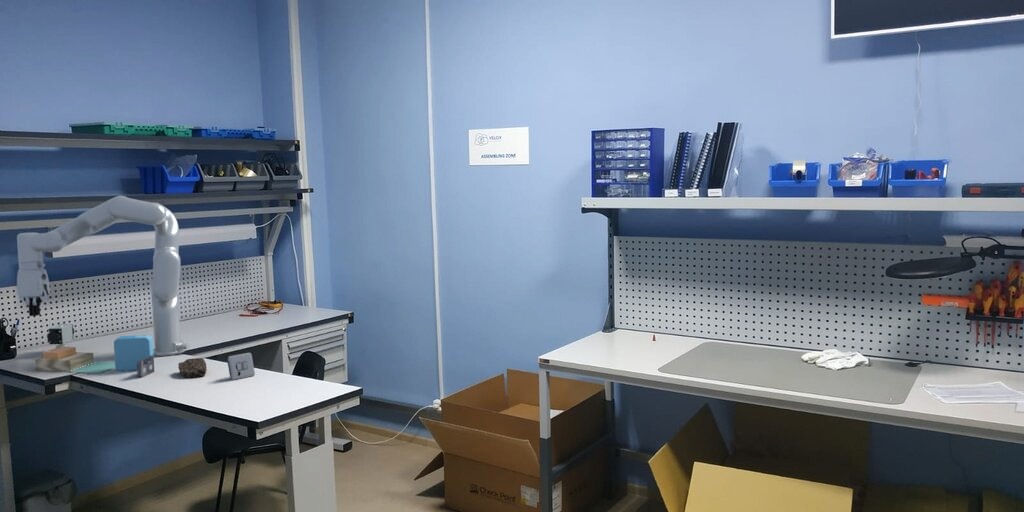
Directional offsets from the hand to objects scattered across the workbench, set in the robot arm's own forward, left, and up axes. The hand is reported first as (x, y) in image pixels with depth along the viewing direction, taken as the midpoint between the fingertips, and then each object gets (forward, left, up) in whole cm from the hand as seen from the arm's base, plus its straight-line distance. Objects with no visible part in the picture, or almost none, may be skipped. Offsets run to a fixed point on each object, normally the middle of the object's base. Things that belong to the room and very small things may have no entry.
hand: (34, 315), depth 271 cm
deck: (-11, 0, -19) cm, 22 cm away
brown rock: (-64, +4, -20) cm, 67 cm away
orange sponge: (-9, 0, -15) cm, 18 cm away
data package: (-39, 0, -19) cm, 44 cm away
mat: (-25, 0, -19) cm, 31 cm away
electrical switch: (-83, +6, -19) cm, 85 cm away
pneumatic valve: (+6, -19, -19) cm, 28 cm away
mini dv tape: (-48, +7, -19) cm, 52 cm away
